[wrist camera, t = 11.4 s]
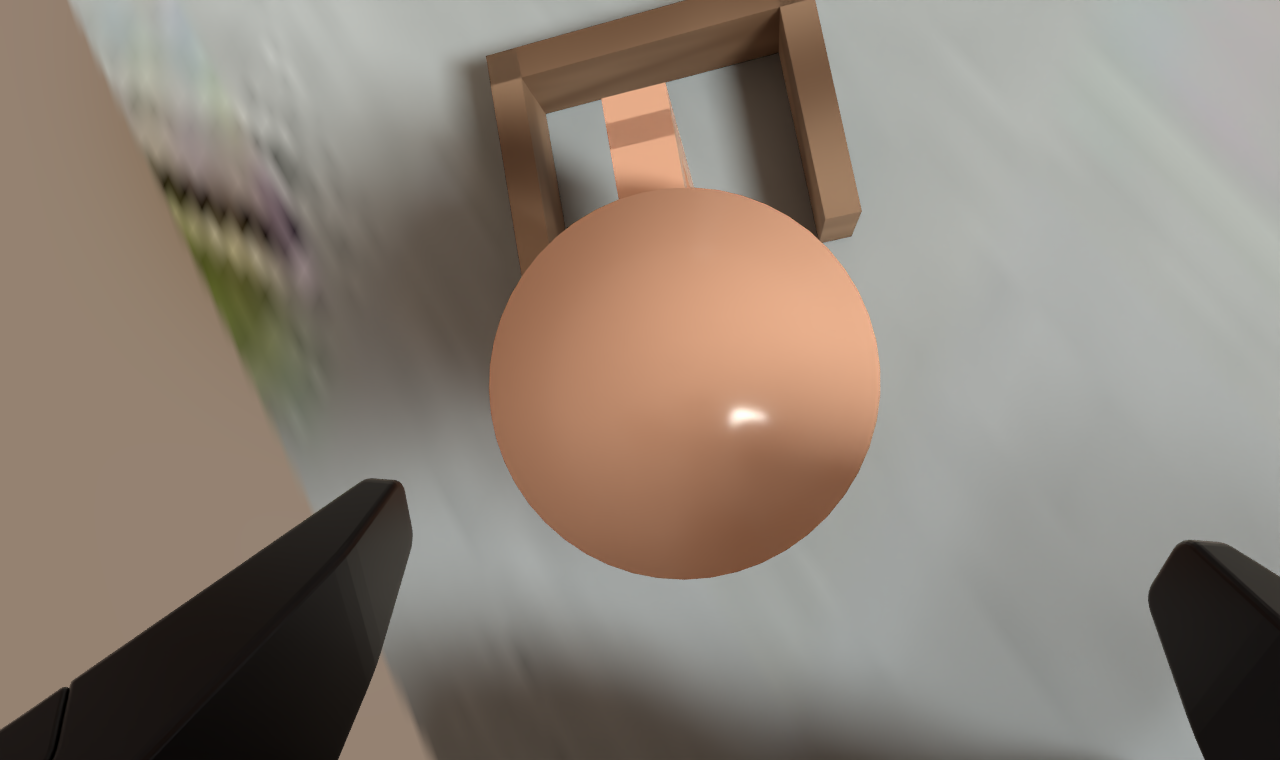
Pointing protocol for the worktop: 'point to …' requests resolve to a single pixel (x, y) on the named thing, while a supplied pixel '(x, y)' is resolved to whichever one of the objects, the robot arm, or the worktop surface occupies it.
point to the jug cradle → (657, 53)
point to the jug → (682, 369)
